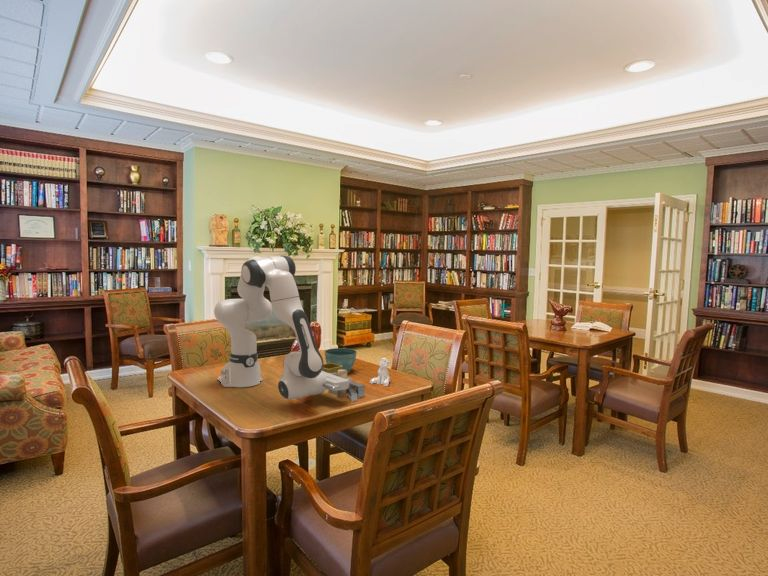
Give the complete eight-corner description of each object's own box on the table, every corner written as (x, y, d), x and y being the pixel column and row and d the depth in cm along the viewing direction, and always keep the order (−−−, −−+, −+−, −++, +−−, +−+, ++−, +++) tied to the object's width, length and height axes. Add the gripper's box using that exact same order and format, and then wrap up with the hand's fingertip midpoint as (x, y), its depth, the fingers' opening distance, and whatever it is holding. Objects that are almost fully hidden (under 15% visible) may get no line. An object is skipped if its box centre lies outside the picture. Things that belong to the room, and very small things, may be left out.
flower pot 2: (362, 372, 238) (363, 351, 237) (339, 378, 226) (339, 356, 225) (341, 366, 249) (341, 346, 248) (317, 372, 237) (318, 351, 236)
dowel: (335, 395, 198) (335, 370, 197) (342, 394, 200) (343, 369, 200) (341, 398, 195) (341, 372, 194) (348, 396, 198) (349, 370, 197)
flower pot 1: (328, 388, 208) (328, 369, 207) (315, 384, 214) (316, 365, 213) (342, 385, 214) (343, 365, 214) (330, 381, 220) (330, 362, 220)
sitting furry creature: (368, 384, 217) (369, 358, 217) (377, 379, 225) (378, 355, 224) (386, 387, 213) (387, 361, 212) (395, 382, 221) (395, 357, 220)
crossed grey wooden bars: (326, 391, 203) (327, 380, 203) (341, 388, 209) (342, 377, 209) (353, 401, 190) (353, 389, 190) (368, 398, 196) (368, 386, 196)
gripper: (332, 380, 180) (359, 375, 190) (303, 370, 195) (329, 365, 205) (332, 396, 181) (359, 390, 190) (302, 385, 196) (329, 379, 205)
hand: (343, 377), depth 198 cm, fingers open, 8 cm apart
